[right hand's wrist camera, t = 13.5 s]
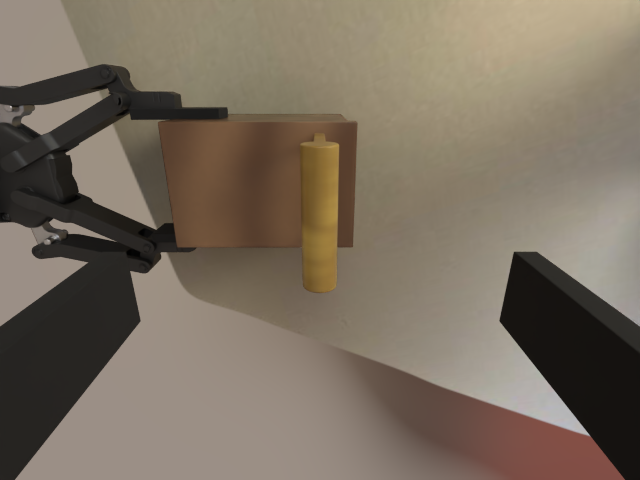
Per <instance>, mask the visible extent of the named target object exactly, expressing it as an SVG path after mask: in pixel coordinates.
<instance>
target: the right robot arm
mask: <svg viewBox="0 0 640 480" xmlns="http://www.w3.org/2000/svg"><path fill="white" fill-rule="evenodd" d="M139 322H140V316H139V311H138V306H137V302H136V297H135V292H134V288H133V283H132V278H131V273H130V269H129V264H128V259H127V254H126V252H102V253H101V254H100V255H98V256H97V257H96V258H94V259H93V260H91V261H90V262H89V263H87V264H86V265H85V266H83V267H82V268H80V269H79V270H78V271H76V272H75V273H73V274H72V275H71V276H69V277H68V278H67V279H65V280H64V281H62V282H61V283H60V284H58V285H57V286H56V287H54V288H53V289H51V290H50V291H49V292H47V293H46V294H44V295H43V296H42V297H40V298H39V299H38V300H36V301H35V302H33V303H32V304H31V305H29V306H28V307H27V308H25V309H24V310H22V311H21V312H20V313H18V314H17V315H16V316H14V317H13V318H11V319H10V320H9V321H7V322H6V323H5V324H3V325H2V326H0V480H15V479H16V478H17V476H18V475H19V474H20V472H21V471H22V470H23V469H24V467H25V466H26V465H27V464H28V462H29V461H30V460H31V459H32V457H33V456H34V455H35V454H36V452H37V451H38V450H39V448H40V447H41V446H42V445H43V443H44V442H45V441H46V440H47V438H48V437H49V436H50V435H51V433H52V432H53V431H54V430H55V428H56V427H57V426H58V425H59V423H60V422H61V421H62V420H63V418H64V417H65V416H66V414H67V413H68V412H69V411H70V409H71V408H72V407H73V406H74V404H75V403H76V402H77V401H78V399H79V398H80V397H81V396H82V394H83V393H84V392H85V390H86V389H87V388H88V387H89V385H90V384H91V383H92V382H93V380H94V379H95V378H96V377H97V375H98V374H99V373H100V372H101V370H102V369H103V368H104V367H105V365H106V364H107V363H108V362H109V360H110V359H111V358H112V356H113V355H114V354H115V353H116V351H117V350H118V349H119V348H120V346H121V345H122V344H123V343H124V341H125V340H126V339H127V338H128V336H129V335H130V334H131V332H132V331H133V330H134V329H135V327H136V326H137V325H138V324H139ZM500 322H501V324H502V325H503V326H504V327H505V329H506V330H507V331H508V332H509V334H510V335H511V336H512V338H513V339H514V340H515V341H516V343H517V344H518V345H519V346H520V348H521V349H522V350H523V351H524V353H525V354H526V355H527V356H528V358H529V359H530V360H531V362H532V363H533V364H534V365H535V367H536V368H537V369H538V370H539V372H540V373H541V374H542V375H543V377H544V378H545V379H546V380H547V382H548V383H549V384H550V385H551V387H552V388H553V389H554V391H555V392H556V393H557V394H558V396H559V397H560V398H561V399H562V401H563V402H564V403H565V404H566V406H567V407H568V408H569V409H570V411H571V412H572V413H573V414H574V416H575V417H576V418H577V420H578V421H579V422H580V423H581V425H582V426H583V427H584V428H585V430H586V431H587V432H588V433H589V435H590V436H591V437H592V438H593V440H594V441H595V442H596V444H597V445H598V446H599V447H600V449H601V450H602V451H603V452H604V454H605V455H606V456H607V457H608V459H609V460H610V461H611V462H612V464H613V465H614V466H615V467H616V469H617V470H618V471H619V473H620V474H621V475H622V476H623V478H624V479H625V480H640V326H638V325H637V324H636V323H634V322H633V321H631V320H630V319H629V318H627V317H626V316H624V315H623V314H622V313H620V312H619V311H618V310H616V309H615V308H613V307H612V306H611V305H609V304H608V303H607V302H605V301H604V300H602V299H601V298H600V297H598V296H597V295H596V294H594V293H593V292H591V291H590V290H589V289H587V288H586V287H584V286H583V285H582V284H580V283H579V282H578V281H576V280H575V279H573V278H572V277H571V276H569V275H568V274H567V273H565V272H564V271H562V270H561V269H560V268H558V267H557V266H556V265H554V264H553V263H551V262H550V261H549V260H547V259H546V258H544V257H543V256H542V255H540V254H539V253H538V252H514V254H513V259H512V264H511V269H510V273H509V278H508V283H507V287H506V292H505V297H504V302H503V306H502V311H501V316H500Z"/></svg>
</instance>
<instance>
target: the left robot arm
mask: <svg viewBox="0 0 640 480" xmlns="http://www.w3.org/2000/svg"><path fill="white" fill-rule="evenodd" d="M107 88H108V89H109V91H110V92H109V94H111V95H110V96H108V97H106V98H105V99H103V100H101V101H100V102H98V103H96V104H95V105H93V106H92V107H90V108H88V109H87V110H85V111H83V112H82V113H80V114H78V115H77V116H75V117H74V118H72V119H70V120H69V121H67V122H65V123H64V124H62V125H60V126H59V127H57V128H56V129H54V130H52V131H51V132H49V133H46V134H43V135H40V134H38V133H37V132H35V131H34V130H32V129H30V128H29V127H27V126H25V125H24V124H22V123H21V118H22V117H23V116H26V115H30V114H31V113H32V111H33V110H34V109H35V106H34V105H44V104H50V103H54V102H58V101H62V100H65V99H69V98H73V97H77V96H80V95H84V94H88V93H92V92H95V91H99V90H103V89H107ZM129 113H130V116H131V120H172V119H222V118H227V117H228V111H227V107H225V108H182V103H181V96H180V94H178V93H175V92H141V91H138V90H137V89H135V88H134V86H133V85H132V83H131V81H130V73H129V72H128V70H127V69H126V68H124V67H120V66H113V65H106V64H102V65H98V66H94V67H91V68H87V69H83V70H80V71H76V72H72V73H69V74H65V75H61V76H57V77H54V78H50V79H46V80H43V81H39V82H36V83H32V84H28V85H25V86H21V87H18V86H0V223H2V222H15V223H18V224H21V225H23V226H25V227H29V228H31V229H32V232H33V234H34V236H35V238H36V241H37V243H38V245H36V246H34V247H33V248H32V253H33V255H34V256H35V257H36V258H39V259H45V258H54V257H64V258H69V259H75V260H79V261H84V262H90V261H91V260H93V259H94V258H96V257H97V256H98V255H100V254H101V253H102V252H126V254H127V259H128V264H129V269H130V271H134V272H139V273H147V272H149V271H150V270H151V269H152V268H153V267H154V266H155V265H156V264H157V262H158V261H159V260H160V259H161V254H160V253H161V252H191V251H193V250H195V249H196V248H197V247H177V243H176V236H175V230H174V223H164V224H163V225H162V226H161V227H160V228H158V229H157V230H155V229H153V228H151V227H148V226H146V225H144V224H142V223H139V222H137V221H135V220H132V219H130V218H128V217H126V216H123V215H121V214H119V213H117V212H114V211H112V210H110V209H107V208H105V207H103V206H101V205H98V204H96V203H94V202H93V201H92V199H91V198H89V197H87V196H85V195H82V194H80V193H78V192H79V191H78V186H77V183H76V181H75V179H74V177H73V175H72V162H71V158H70V155H66V154H65V153H66V152H68V151H69V150H71V149H73V148H74V147H76V146H78V145H79V143H80V142H82V141H84V140H86V139H87V138H89V137H90V136H92V135H94V134H96V133H97V132H99V131H101V130H102V129H104V128H106V127H107V126H109V125H111V124H112V123H114V122H116V121H118V120H119V119H121V118H123V117H124V116H126V115H128V114H129ZM53 218H54V219H57V220H59V221H61V222H65V223H74V224H77V225H79V226H82V227H84V228H86V229H88V230H91V231H93V232H95V233H98V234H100V235H103V236H105V237H107V238H110V239H112V240H114V241H117V242H114V241H109V240H105V239H100V238H95V237H90V236H85V235H80V234H68V231H67V230H61V229H55V228H53V227H52V226H51V225H50V223H49V222H50V221H51V220H52V219H53Z"/></svg>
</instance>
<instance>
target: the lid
mask: <svg viewBox="0 0 640 480" xmlns="http://www.w3.org/2000/svg"><path fill="white" fill-rule="evenodd" d="M158 126H159V133H160V139H161V146H162V152H163V159H164V165H165V172H166V178H167V185H168V191H169V198H170V204H171V210H172V217H173V223H174V230H175V236H176V243H177V247H302V277H303V287H304V288H305V289H306V290H308V291H310V292H315V293H324V292H329V291H331V290H333V289H334V288H335V287H336V285H337V247H353V229H354V201H355V173H356V145H357V122H356V121H161V122H158Z"/></svg>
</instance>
